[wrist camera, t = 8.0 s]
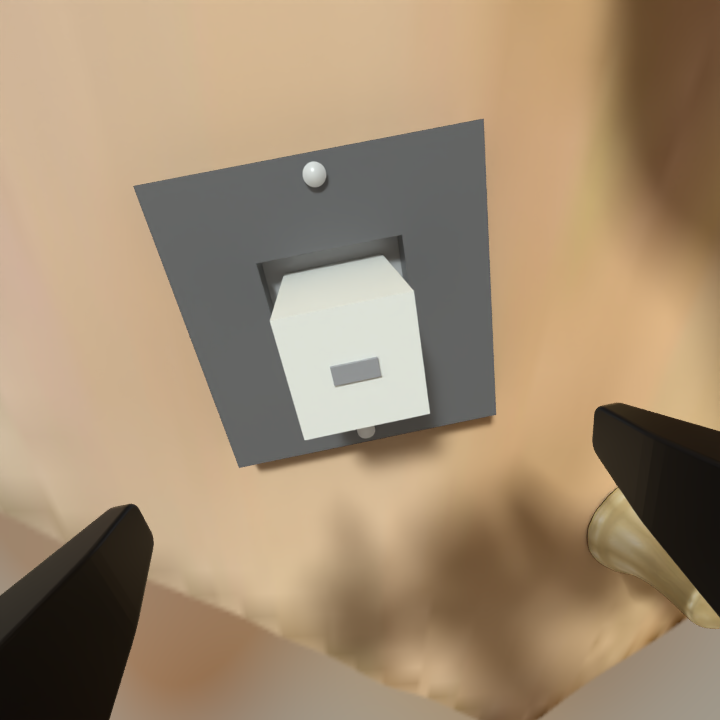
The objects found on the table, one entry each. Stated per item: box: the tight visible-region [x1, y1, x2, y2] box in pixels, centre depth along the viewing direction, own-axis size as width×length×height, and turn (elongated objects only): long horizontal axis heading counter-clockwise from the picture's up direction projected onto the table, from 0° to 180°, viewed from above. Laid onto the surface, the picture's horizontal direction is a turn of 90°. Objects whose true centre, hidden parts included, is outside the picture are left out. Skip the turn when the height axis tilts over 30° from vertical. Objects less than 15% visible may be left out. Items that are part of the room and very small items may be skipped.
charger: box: [270, 253, 430, 440], centre depth 15 cm, size 4×4×6 cm
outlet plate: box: [133, 119, 496, 468], centre depth 17 cm, size 12×12×2 cm
